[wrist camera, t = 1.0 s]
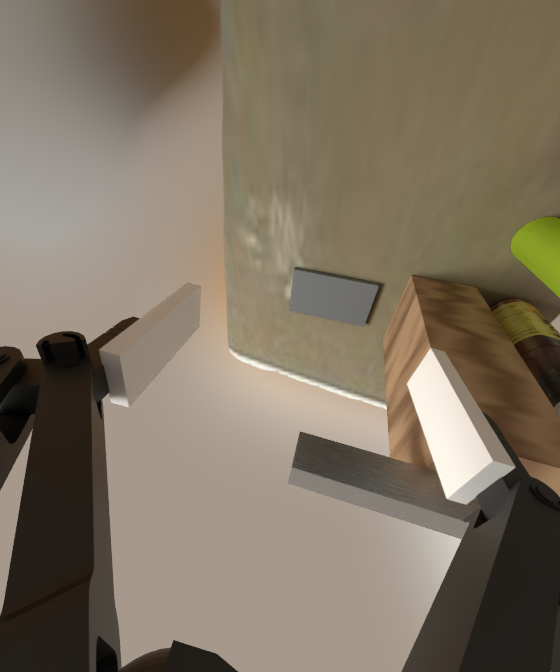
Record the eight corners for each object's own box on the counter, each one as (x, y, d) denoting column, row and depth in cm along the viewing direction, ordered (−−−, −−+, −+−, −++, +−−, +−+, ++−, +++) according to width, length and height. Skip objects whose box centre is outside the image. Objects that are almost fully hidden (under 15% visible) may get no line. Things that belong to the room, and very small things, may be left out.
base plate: (290, 307, 53) (289, 310, 53) (295, 267, 48) (294, 269, 47) (364, 323, 51) (363, 326, 50) (378, 283, 45) (378, 285, 45)
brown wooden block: (383, 338, 52) (392, 500, 30) (411, 275, 43) (455, 440, 21) (435, 350, 51) (486, 530, 28) (476, 287, 42) (599, 479, 19)
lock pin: (295, 451, 29) (284, 498, 25) (300, 428, 25) (289, 478, 22) (585, 538, 24) (622, 610, 21) (634, 524, 21) (688, 605, 18)
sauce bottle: (531, 323, 43) (617, 429, 28) (485, 331, 46) (540, 431, 31) (532, 289, 40) (629, 389, 25) (482, 300, 43) (542, 395, 28)
